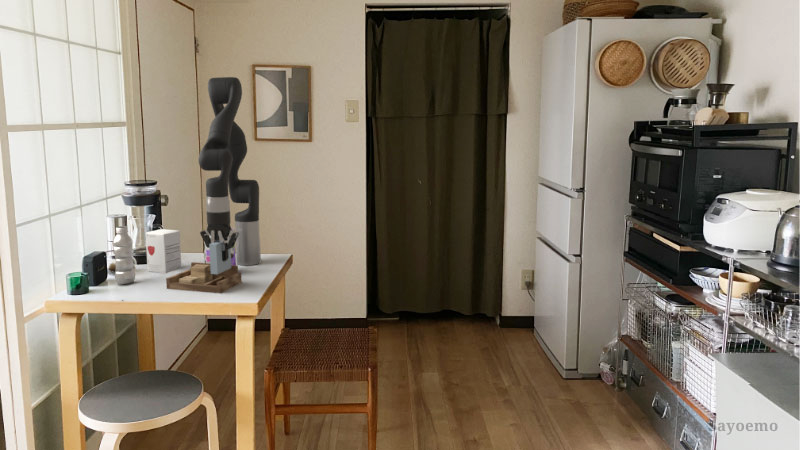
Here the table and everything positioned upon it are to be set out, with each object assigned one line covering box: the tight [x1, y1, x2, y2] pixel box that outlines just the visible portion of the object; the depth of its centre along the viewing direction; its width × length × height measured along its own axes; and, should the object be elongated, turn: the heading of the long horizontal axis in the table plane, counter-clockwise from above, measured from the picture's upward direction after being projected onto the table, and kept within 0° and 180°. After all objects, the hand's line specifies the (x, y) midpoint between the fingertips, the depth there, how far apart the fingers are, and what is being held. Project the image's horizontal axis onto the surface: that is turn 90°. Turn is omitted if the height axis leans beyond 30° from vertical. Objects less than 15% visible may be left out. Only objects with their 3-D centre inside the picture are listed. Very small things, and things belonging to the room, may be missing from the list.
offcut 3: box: [189, 273, 213, 285], centre depth 222 cm, size 5×6×3 cm
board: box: [209, 239, 231, 274], centre depth 216 cm, size 9×2×10 cm, turn 165°
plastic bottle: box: [112, 225, 136, 285], centre depth 224 cm, size 6×7×20 cm
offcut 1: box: [179, 276, 199, 284], centre depth 217 cm, size 4×5×3 cm
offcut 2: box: [189, 264, 210, 276], centre depth 222 cm, size 4×5×3 cm
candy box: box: [203, 227, 237, 265], centre depth 238 cm, size 14×6×16 cm, turn 168°
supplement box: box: [145, 228, 182, 274], centre depth 244 cm, size 9×9×15 cm
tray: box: [165, 261, 242, 294], centre depth 219 cm, size 14×20×7 cm
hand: (220, 260), depth 217 cm, fingers closed on board, 2 cm apart
